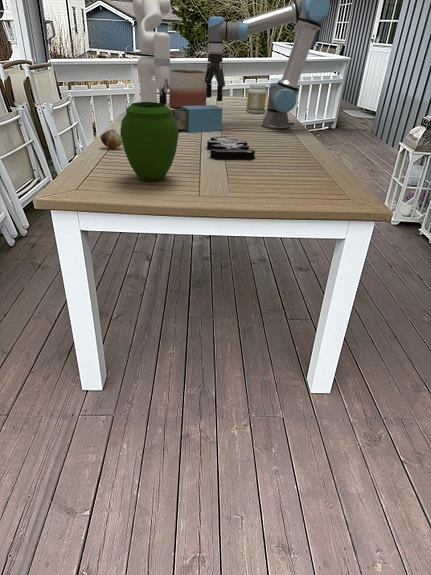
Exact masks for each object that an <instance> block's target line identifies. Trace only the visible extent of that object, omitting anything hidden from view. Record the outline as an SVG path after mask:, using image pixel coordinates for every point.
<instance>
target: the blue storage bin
mask: <svg viewBox="0 0 431 575" xmlns="http://www.w3.org/2000/svg"><path fill="white" fill-rule="evenodd" d="M182 109H185V110H187V111H188V129H183V130H184V131H185V132H188V133H203V132H204V133H205V132H221V131H222V125H223V124H222V123H223V107H220V106H218V105H215V104H209V105H207V104H206V105H204V106H182Z"/></svg>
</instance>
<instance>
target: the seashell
mask: <svg viewBox="0 0 431 575" xmlns="http://www.w3.org/2000/svg"><path fill="white" fill-rule="evenodd" d="M100 140H101V143H102V144H103V145H104V146H105V147H107V148H110V149H116V148H119V147H120V146H122V145H123V142H122V138H121V134H119V133H118V132H117V131H116V129H114V128H112V129H109V130H106V131H104V132H103V133H102V134H101V135H100Z"/></svg>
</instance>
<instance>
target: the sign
mask: <svg viewBox="0 0 431 575" xmlns="http://www.w3.org/2000/svg"><path fill="white" fill-rule="evenodd" d="M206 148H207V149H208V150H209V153H210V154H209V155H210V158H211V159H214V160H246V161H247V160H249V161H250V160H252V159H255V156H256V155H255V154H256V150H255V149H250V146H249V145H248V142H247V141H246V140H238V139H237V138H228V137H227V136H226V135H220V136H213V137H210V140H207V143H206Z"/></svg>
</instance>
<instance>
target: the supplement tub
mask: <svg viewBox="0 0 431 575" xmlns="http://www.w3.org/2000/svg"><path fill="white" fill-rule="evenodd" d="M266 87H267V86H266V84H264V83H250V84H249V88H248V90H247V102H246V111H247V112H248V113H250V114H251V113H252V114H263V113H265V110H266V101H267V100H266V99H267V89H266Z"/></svg>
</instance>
